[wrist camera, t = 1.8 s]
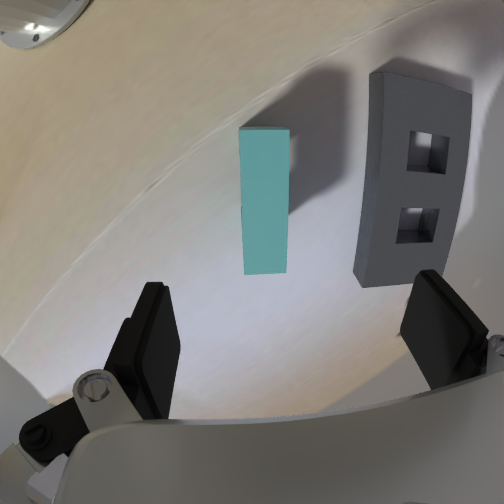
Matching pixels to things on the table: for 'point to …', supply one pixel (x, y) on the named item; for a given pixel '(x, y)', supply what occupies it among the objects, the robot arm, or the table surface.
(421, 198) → the gray slotted base plate
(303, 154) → the table surface
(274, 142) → the clip
